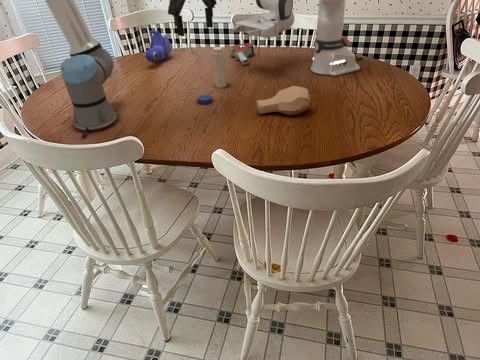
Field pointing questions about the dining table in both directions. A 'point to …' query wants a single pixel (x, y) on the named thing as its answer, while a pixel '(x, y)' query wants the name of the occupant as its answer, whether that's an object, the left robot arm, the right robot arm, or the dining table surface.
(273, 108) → the squash
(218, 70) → the jar
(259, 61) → the dining table surface
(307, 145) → the dining table surface
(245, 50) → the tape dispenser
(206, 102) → the lid
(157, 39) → the toy
